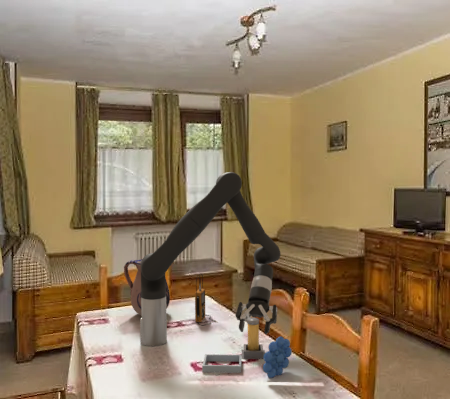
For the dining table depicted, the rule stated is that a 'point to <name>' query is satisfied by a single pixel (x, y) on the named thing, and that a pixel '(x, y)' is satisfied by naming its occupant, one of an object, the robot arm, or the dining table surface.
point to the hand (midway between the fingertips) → (253, 332)
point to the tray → (221, 367)
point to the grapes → (277, 357)
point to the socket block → (253, 353)
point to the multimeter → (200, 303)
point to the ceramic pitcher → (139, 287)
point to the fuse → (253, 334)
